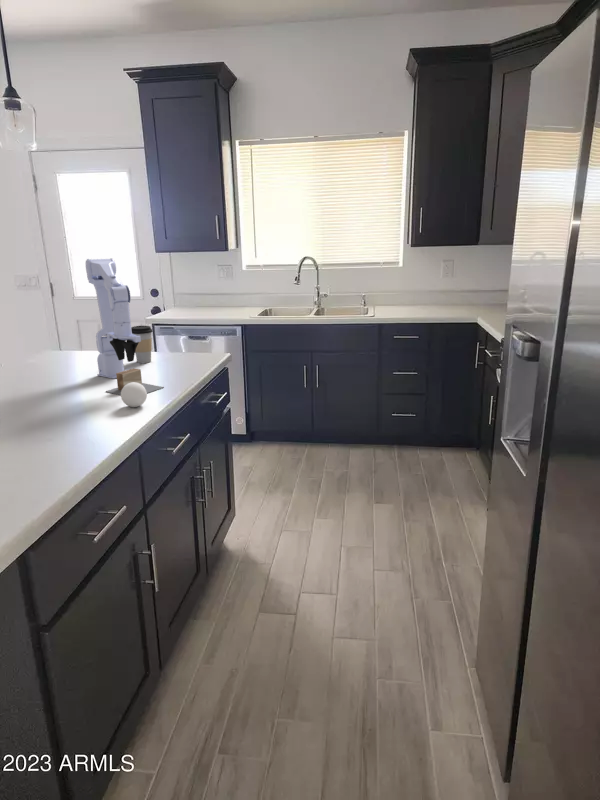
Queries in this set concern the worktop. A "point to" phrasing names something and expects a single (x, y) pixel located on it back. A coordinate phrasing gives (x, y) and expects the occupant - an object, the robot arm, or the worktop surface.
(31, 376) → the worktop surface
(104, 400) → the worktop surface
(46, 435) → the worktop surface
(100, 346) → the robot arm
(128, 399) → the ball
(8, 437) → the worktop surface
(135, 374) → the brown wooden block
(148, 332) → the coffee cup
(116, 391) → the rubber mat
